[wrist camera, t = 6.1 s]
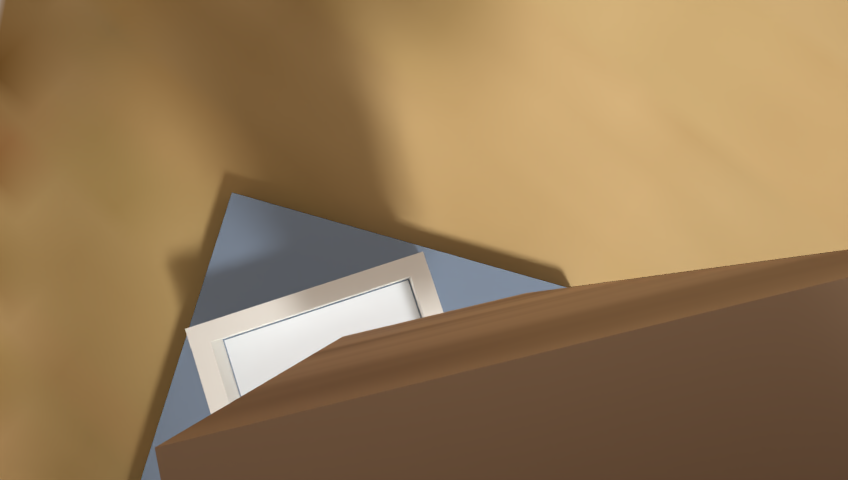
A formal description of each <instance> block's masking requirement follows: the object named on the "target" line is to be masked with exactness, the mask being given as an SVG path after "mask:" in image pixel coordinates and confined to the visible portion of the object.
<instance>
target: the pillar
mask: <svg viewBox="0 0 848 480" xmlns="http://www.w3.org/2000/svg"><path fill="white" fill-rule="evenodd" d="M155 452H156V457H157V463H158V468H159V473H160V478H161V480H848V250H842V251H834V252H827V253H820V254H812V255H805V256H797V257H790V258H782V259H775V260H768V261H760V262H753V263H745V264H738V265H730V266H723V267H716V268H708V269H701V270H693V271H686V272H679V273H671V274H664V275H656V276H649V277H641V278H634V279H627V280H619V281H612V282H604V283H597V284H589V285H582V286H575V287H567V288H560V289H552V290H545V291H538V292H530V293H524V294H520V295H516V296H511V297H507V298H503V299H499V300H495V301H490V302H486V303H482V304H478V305H474V306H469V307H465V308H461V309H457V310H452V311H448V312H444V313H440V314H436V315H431V316H427V317H423V318H419V319H415V320H410V321H406V322H402V323H398V324H393V325H389V326H385V327H381V328H377V329H372V330H368V331H364V332H360V333H355V334H351V335H347V336H343V337H341V338H339V339H338V340H336V341H334V342H333V343H331V344H329V345H327V346H326V347H324V348H322V349H321V350H319V351H317V352H316V353H314V354H312V355H311V356H309V357H307V358H305V359H304V360H302V361H300V362H299V363H297V364H295V365H294V366H292V367H290V368H289V369H287V370H285V371H283V372H282V373H280V374H278V375H277V376H275V377H273V378H272V379H270V380H268V381H267V382H265V383H263V384H261V385H260V386H258V387H256V388H255V389H253V390H251V391H250V392H248V393H246V394H245V395H243V396H241V397H240V398H238V399H236V400H234V401H233V402H231V403H229V404H228V405H226V406H224V407H223V408H221V409H219V410H218V411H216V412H214V413H212V414H211V415H209V416H207V417H206V418H204V419H202V420H201V421H199V422H197V423H196V424H194V425H192V426H190V427H189V428H187V429H185V430H184V431H182V432H180V433H179V434H177V435H175V436H174V437H172V438H170V439H168V440H167V441H165V442H163V443H162V444H160V445H158V446H157V447H155Z"/></svg>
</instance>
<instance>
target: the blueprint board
mask: <svg viewBox="0 0 848 480" xmlns="http://www.w3.org/2000/svg"><path fill="white" fill-rule="evenodd" d="M560 288H567V287H563V286H560V285H556V284H553V283H549V282H546V281H542V280H539V279H535V278H532V277H528V276H525V275H521V274H518V273H514V272H510V271H507V270H503V269H500V268H496V267H493V266H489V265H486V264H482V263H479V262H475V261H472V260H468V259H465V258H461V257H458V256H454V255H451V254H447V253H444V252H440V251H436V250H433V249H429V248H426V247H422V246H419V245H415V244H412V243H408V242H405V241H401V240H398V239H394V238H391V237H387V236H384V235H380V234H377V233H373V232H369V231H366V230H362V229H359V228H355V227H352V226H348V225H345V224H341V223H338V222H334V221H331V220H327V219H324V218H320V217H317V216H313V215H310V214H306V213H302V212H299V211H295V210H292V209H288V208H285V207H281V206H278V205H274V204H271V203H267V202H264V201H260V200H257V199H253V198H250V197H246V196H243V195H239V194H235V193H232V194H231V197H230V200H229V203H228V207H227V210H226V213H225V216H224V219H223V222H222V226H221V229H220V232H219V235H218V238H217V241H216V244H215V248H214V251H213V254H212V257H211V260H210V263H209V266H208V270H207V273H206V276H205V279H204V282H203V285H202V289H201V292H200V295H199V298H198V301H197V304H196V307H195V311H194V314H193V317H192V320H191V323H190V326H189V328H186V329H185V331H186V334H187V336H186V339H185V342H184V345H183V348H182V352H181V355H180V358H179V361H178V364H177V367H176V370H175V374H174V377H173V380H172V383H171V386H170V389H169V392H168V396H167V399H166V402H165V405H164V408H163V411H162V415H161V418H160V421H159V424H158V427H157V430H156V433H155V437H154V440H153V443H152V446H151V449H150V452H149V455H148V459H147V462H146V465H145V468H144V471H143V474H142V478H141V480H161V478H160V473H159V468H158V463H157V457H156V452H155V447H157V446H158V445H160V444H162V443H163V442H165V441H167V440H168V439H170V438H172V437H174V436H175V435H177V434H179V433H180V432H182V431H184V430H185V429H187V428H189V427H190V426H192V425H194V424H196V423H197V422H199V421H201V420H202V419H204V418H206V417H207V416H209V415H211V414H212V413H214V412H216V411H218V410H219V409H221V408H223V407H224V406H226V405H228V404H229V403H231V402H233V401H234V400H236V399H238V398H240V397H241V396H243V395H245V394H246V393H248V392H250V391H251V390H253V389H255V388H256V387H258V386H260V385H261V384H263V383H265V382H267V381H268V380H270V379H272V378H273V377H275V376H277V375H278V374H280V373H282V372H283V371H285V370H287V369H289V368H290V367H292V366H294V365H295V364H297V363H299V362H300V361H302V360H304V359H305V358H307V357H309V356H311V355H312V354H314V353H316V352H317V351H319V350H321V349H322V348H324V347H326V346H327V345H329V344H331V343H333V342H334V341H336V340H338V339H339V338H341V337H343V336H347V335H351V334H355V333H360V332H364V331H368V330H372V329H377V328H381V327H385V326H389V325H393V324H398V323H402V322H406V321H410V320H415V319H419V318H423V317H427V316H431V315H436V314H440V313H444V312H448V311H452V310H457V309H461V308H465V307H469V306H474V305H478V304H482V303H486V302H490V301H495V300H499V299H503V298H507V297H511V296H516V295H520V294H524V293H530V292H538V291H545V290H552V289H560Z"/></svg>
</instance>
